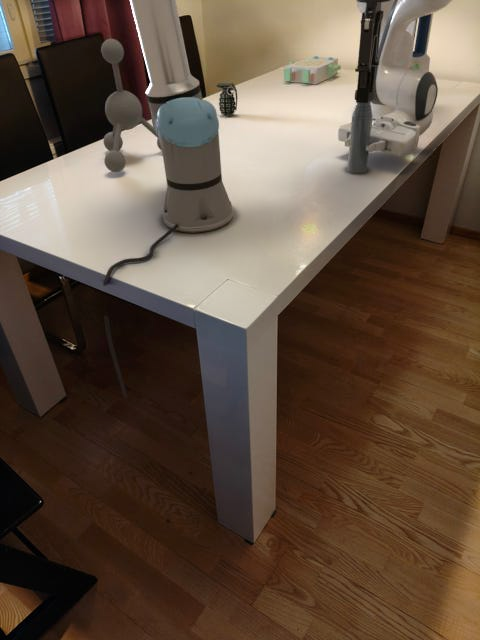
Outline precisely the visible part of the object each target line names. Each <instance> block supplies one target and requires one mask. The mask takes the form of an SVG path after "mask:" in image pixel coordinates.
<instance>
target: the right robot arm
mask: <svg viewBox="0 0 480 640" xmlns="http://www.w3.org/2000/svg"><path fill="white" fill-rule="evenodd" d="M452 1H453V0H391V1H388V2H381V11H383V19H382V23H381V31H380V40H379V49H378V59H377V61H376V62H379V66H375V75H374V84H373V90H374V91H375V92H374V93H375V94H374V100H372V101H371V104H370V105H371V108H372V114H373V116H372V117H373V119H372V120H374V122H373V123H372V128H371V137H370V143H369V144H366V149H365V151H367V152H369V154H370V153H373V152H382V153H388V154H392V155H394V156H400V157H405V156H408V155H410V154H412V153H414V152H416V151H417V148H418V145H419V140H420V136H422V135H423V134H424V133H425V132H426V131H427V130H428V129H429V128H430V126H431V124H432V122H433V118H434V117H433V115H434V114H433V110H434V107H435V105H436V102H437V98H438V93H439V92H438V91H439V88H438V83H437V79H436V76H435V75H434V74H433V73H432V72H431V71H429V72H427V71H423V70H418V69H412V68H411V61H412V55H413V51H414V49H415V39H413V37H412V35H411V34H410V33H409V32H407V31H406V29H407V27H408V26H409V24H410V23H411V22H413V21H414V20H416V19H417V20H419V18H420V17H423V16H426V15H429V14H432V13H433V14H434V13H437V12H439V11H441V10H443V9H444V8H446V7H447V6H448V5H449V4H450V3H451V2H452ZM356 5H357V6H356V7H357V8H358V10H359V12H360V13H361V14H362V13H364V12H365V8H366V3H365V2H363V3H361V2H358V1H357V0H356ZM351 123H352V122H349V123H345V124H343V125H340V126H339V127H338V131H337V139H338V142H343V143H344V146H345V147H347V148H349V146H350V134H351Z"/></svg>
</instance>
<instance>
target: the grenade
mask: <svg viewBox="0 0 480 640" xmlns="http://www.w3.org/2000/svg"><path fill="white" fill-rule="evenodd" d="M215 87H217V88H219V89H221V93H219V97H218V101H219V102H218V106H219V108H218V109H219V112H220V114H221V115H222V116H224V117H231V116H233V115H234V113H235V112H236V111H237V108H238V89H237V87H236V85H235V84H234V83H233V82H218V83H217V84H216V86H215ZM232 91H233V92H232ZM234 94H235V96H234Z"/></svg>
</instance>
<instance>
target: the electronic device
mask: <svg viewBox="0 0 480 640" xmlns="http://www.w3.org/2000/svg"><path fill="white" fill-rule="evenodd" d="M433 17H434V13H432V14H429V15H426V16H423V17H420V18H418V19H416V20H414V21H413V22H411V23H410V24H409V26H408V27H407V29H406V31H407V32H409V33H410V34H411V35H412V37H413V39H414V40H415V41H414V48H413V55H412V61H411V68H412V69H418V70H423V71H427V72H430V64H431V57H430V56H429V55H428V54H427V53H428V47H429V42H430V35H431V29H432V23H433V19H434V18H433Z"/></svg>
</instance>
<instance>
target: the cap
mask: <svg viewBox="0 0 480 640" xmlns="http://www.w3.org/2000/svg"><path fill="white" fill-rule="evenodd" d="M354 91H355V92H354V100H355V101H356V96H357V89H356V90H354ZM374 92H375V91H374V90H373V89H370V91H369V100H368V101H372V100H374V94H375V93H374Z"/></svg>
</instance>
